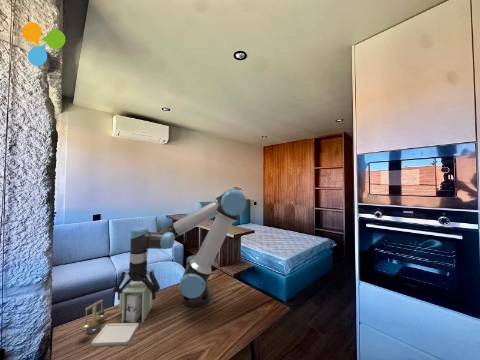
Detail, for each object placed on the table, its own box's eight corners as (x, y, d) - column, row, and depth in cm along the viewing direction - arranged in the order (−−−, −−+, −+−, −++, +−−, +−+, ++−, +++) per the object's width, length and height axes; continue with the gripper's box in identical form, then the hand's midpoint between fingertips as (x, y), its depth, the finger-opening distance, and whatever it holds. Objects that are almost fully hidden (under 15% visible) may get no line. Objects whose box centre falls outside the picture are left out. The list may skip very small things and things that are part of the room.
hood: (151, 307, 102) (152, 279, 103) (142, 322, 91) (144, 291, 92) (132, 307, 102) (133, 279, 102) (121, 323, 91) (122, 291, 91)
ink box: (138, 310, 100) (139, 286, 100) (147, 311, 99) (148, 287, 99) (125, 321, 92) (126, 295, 92) (134, 323, 91) (135, 296, 91)
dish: (138, 326, 89) (139, 322, 89) (127, 345, 79) (127, 341, 79) (106, 327, 88) (106, 323, 88) (90, 346, 77) (91, 342, 78)
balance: (88, 343, 79) (89, 311, 79) (75, 343, 78) (76, 311, 79) (109, 318, 93) (110, 291, 93) (98, 319, 93) (99, 291, 93)
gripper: (167, 258, 101) (165, 301, 100) (115, 257, 99) (113, 301, 98) (163, 264, 93) (161, 310, 93) (106, 263, 91) (104, 311, 91)
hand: (136, 306), depth 95 cm, fingers open, 13 cm apart
